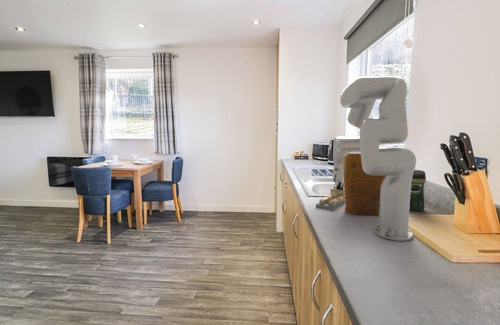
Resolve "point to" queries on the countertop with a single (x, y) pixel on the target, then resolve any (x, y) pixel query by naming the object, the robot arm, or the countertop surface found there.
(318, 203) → the board
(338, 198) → the ginger root
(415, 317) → the countertop surface
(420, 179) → the coffee jar
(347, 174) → the pancake mix bag
